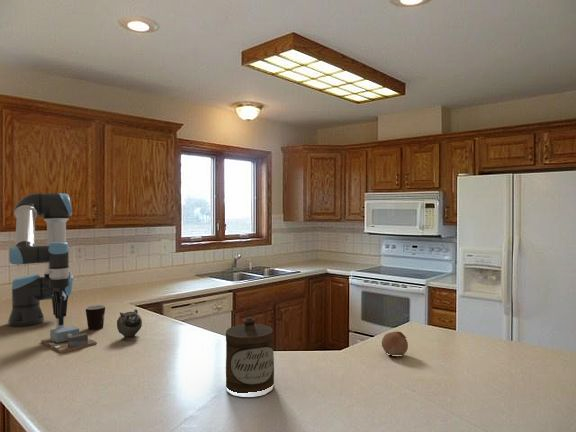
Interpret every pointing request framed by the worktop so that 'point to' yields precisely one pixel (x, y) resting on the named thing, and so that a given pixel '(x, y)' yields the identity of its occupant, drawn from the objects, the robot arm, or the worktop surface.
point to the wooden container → (249, 357)
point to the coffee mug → (95, 317)
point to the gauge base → (65, 348)
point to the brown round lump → (395, 343)
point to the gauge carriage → (63, 333)
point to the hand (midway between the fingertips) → (60, 332)
